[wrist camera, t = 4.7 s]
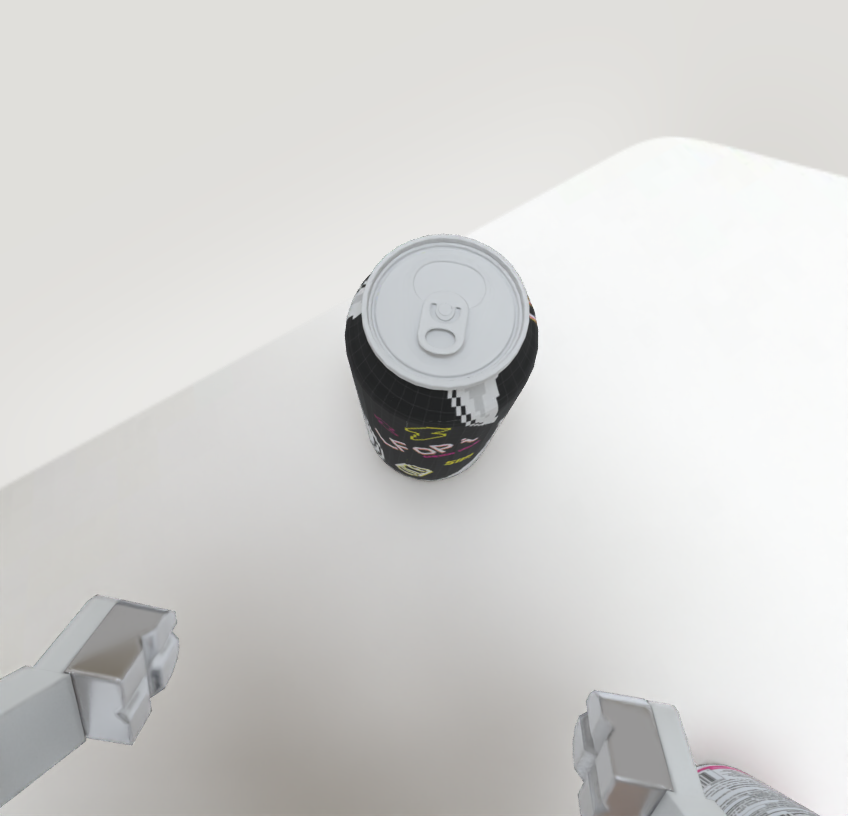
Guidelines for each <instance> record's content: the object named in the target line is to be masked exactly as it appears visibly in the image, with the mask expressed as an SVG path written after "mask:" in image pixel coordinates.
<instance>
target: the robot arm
mask: <svg viewBox="0 0 848 816" xmlns="http://www.w3.org/2000/svg"><path fill="white" fill-rule="evenodd" d="M176 624H177V619H176V612H175V611H172V610H168V609H163V608H159V607H154V606H149V605H145V604H140V603H135V602H131V601H126V600H122V599H117V598H112V597H107V596H102V595H96V596H94V597H93V598H91V599H90V600H88V601H87V602H86V604H85V605H84V606H83V607H82V608H81V610H80V611H79V612H78V613H77V614H76V616H75V617H74V618H73V619H72V620H71V622H70V623H69V624H68V625H67V627H66V628H65V629H64V630H63V631H62V633H61V634H60V635H59V636H58V637H57V639H56V640H55V641H54V642H53V643H52V645H51V646H50V647H49V648H48V649H47V651H46V652H45V653H44V654H43V656H42V657H41V658H40V659H39V660H38V662H37V663H36V664H35V665H34V666H33V667H31V666H24V667H22V668H20V669H18V670H16V671H14V672H12V673H11V674H9V675H7V676H5V677H3V678H1V679H0V808H1V807H2V806H3V805H4V804H6V803H7V802H8V801H10V800H11V799H12V798H13V797H15V796H16V795H17V794H19V793H20V792H21V791H22V790H24V789H25V788H26V787H28V786H29V785H30V784H31V783H33V782H34V781H35V780H37V779H38V778H39V777H40V776H42V775H43V774H44V773H46V772H47V771H48V770H49V769H51V768H52V767H53V766H54V765H56V764H57V763H58V762H60V761H61V760H62V759H63V758H65V757H66V756H67V755H69V754H70V753H71V752H72V751H74V750H75V749H76V748H78V747H79V746H80V745H81V744H83V743H84V742H85V741H86V738H90V739H96V740H102V741H108V742H114V743H120V744H126V745H133V743H134V741H135V739H136V738H137V736H138V734H139V732H140V731H141V729H142V727H143V725H144V724H145V722H146V720H147V718H148V717H149V715H150V713H151V711H152V709H151V701H150V698H151V697H153V696H154V695H156V694H157V693H159V692H160V691H162V690H163V689H164V688H165V687H166V685H167V683H168V681H169V679H170V677H171V676H172V673H173V670H174V668H175V665H176V662H177V659H178V653H179V638H178V637H177V636H176V635H175V634H174V633H173V632H172V630H173V629H174V627H175V626H176ZM586 705H587V711H588V712H586V713H584V714H582V715H580V716H579V718H578V721H577V723H576V726H575V730H574V737H573V759H574V768H575V770H576V772H577V773H578V774H579V776H580V777H581V779H582V780H583V782H584V783H583V785H582V787H581V789H580V791H579V793H578V799H579V807H580V814H581V816H727V815H726V814H725V813H724V811H723V810H722V809H721V808H720V807H719V805H718V804H717V803H716V802H715V801H714V800H711V799H707V798H706V797H705V794H704V791H703V788H702V784H701V781H700V778H699V775H698V772H697V769H696V766H695V762H694V759H693V756H692V753H691V750H690V747H689V744H688V740H687V737H686V734H685V731H684V728H683V725H682V721H681V718H680V715H679V712H678V710H677V709H676V708H675V706H673V705H670V704H665V703H659V702H653V701H648V700H645V699H642V698H636V697H630V696H624V695H619V694H613V693H607V692H602V691H596V690H594V691H592V692H591V693H590V694H589V696H588V698H587V700H586Z"/></svg>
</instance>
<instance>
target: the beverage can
mask: <svg viewBox="0 0 848 816" xmlns="http://www.w3.org/2000/svg"><path fill="white" fill-rule="evenodd" d="M345 342H346V352H347V357H348V360H349V364H350V368H351V371H352V375H353V379H354V382H355V386H356V390H357V393H358V397H359V401H360V405H361V408H362V412H363V416H364V419H365V423H366V427H367V430H368V434H369V437H370V440H371V443H372V445H373V446H374V448H375V450H376V452H377V454H378V455H379V456H380V457H381V458H382V459H383V461H384V462H385V463H386V464H388V465H389V466H390V467H391V468H393V469H394V470H395V471H397V472H399V473H401V474H403V475H405V476H407V477H411V478H415V479H418V480H430V481H433V480H441V479H446V478H449V477H452V476H455V475H457V474H459V473H461V472H463V471H464V470H466V469H468V468H469V467H470V466H471V465H472V464H473V463H475V462H476V461H477V459H478V458H479V457H480V455H481V454H482V453H483V452H484V450H485V448H486V447H487V445H488V444H489V442H490V440H491V439H492V437H493V436H494V434H495V432H496V431H497V429H498V428H499V426H500V424H501V423H502V421H503V420H504V418H505V416H506V415H507V413H508V412H509V410H510V408H511V407H512V405H513V404H514V402H515V400H516V399H517V397H518V396H519V394H520V392H521V391H522V389H523V388H524V386H525V384H526V382H527V380H528V378H529V376H530V374H531V372H532V370H533V367H534V363H535V359H536V354H537V350H538V327H537V322H536V317H535V312H534V309H533V307H532V304H531V302H530V300H529V297H528V295H527V292H526V289H525V287H524V285H523V282H522V280H521V278H520V276H519V275H518V273H517V272H516V270H515V269H514V267H513V266H512V265H511V264H510V263H509V262H508V261H507V260H506V259H505V258H504V257H503V256H502V255H501V254H500V253H498V252H497V251H495V250H494V249H492V248H491V247H489V246H487V245H485V244H483V243H481V242H479V241H476V240H474V239H471V238H467V237H463V236H459V235H449V234H438V235H427V236H423V237H420V238H417V239H413V240H410V241H408V242H406V243H404V244H402V245H400V246H398V247H396V248H395V249H394V250H392V251H391V252H390V253H388V254H387V255H386V256H385V257H384V258H383V259H382V260H381V261H380V262H379V263H378V264H377V265H376V267H375V268H374V270H373V271H372V273H371V274H370V275H369V276H368V277H367V278H366V279H365V281H364V282H363V283H362V285H361V286H360V288H359V290H358V291H357V293H356V295H355V296H354V298H353V301H352V304H351V307H350V309H349V312H348V315H347V322H346V330H345Z"/></svg>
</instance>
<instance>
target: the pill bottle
mask: <svg viewBox="0 0 848 816" xmlns="http://www.w3.org/2000/svg"><path fill="white" fill-rule="evenodd" d="M696 769H697V772H698V775H699V778H700V781H701V784H702V788H703V791H704V794H705V797H706V798H707V799H711V800H714V801H715V802H716V803H717V804H718V805H719V807H720V808H721V809H722V810H723V811H724V813H725V814H726V815H727V816H820V815H818V814H816V813H814V812H813V811H811V810H809V809H807V808H806V807H804V806H802V805H800V804H799V803H797V802H795V801H793V800H792V799H790V798H788V797H787V796H785V795H783V794H781V793H780V792H778V791H776V790H774V789H773V788H771V787H769V786H767V785H766V784H764V783H762V782H761V781H759V780H757V779H755V778H753V777H752V776H750V775H749V774H747V773H744V772H742V771H740V770H738V769H736V768H733V767H729V766H725V765H717V764H711V765H703V766H699V767H696Z"/></svg>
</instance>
